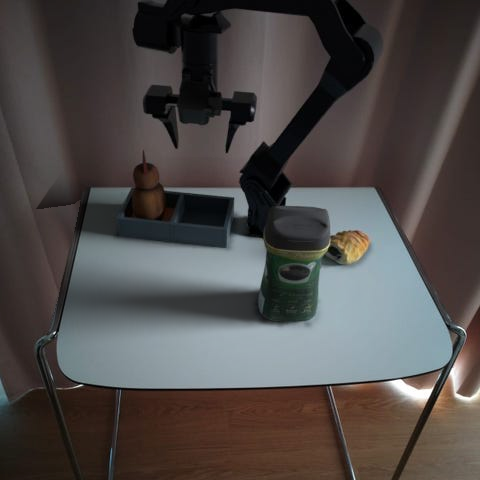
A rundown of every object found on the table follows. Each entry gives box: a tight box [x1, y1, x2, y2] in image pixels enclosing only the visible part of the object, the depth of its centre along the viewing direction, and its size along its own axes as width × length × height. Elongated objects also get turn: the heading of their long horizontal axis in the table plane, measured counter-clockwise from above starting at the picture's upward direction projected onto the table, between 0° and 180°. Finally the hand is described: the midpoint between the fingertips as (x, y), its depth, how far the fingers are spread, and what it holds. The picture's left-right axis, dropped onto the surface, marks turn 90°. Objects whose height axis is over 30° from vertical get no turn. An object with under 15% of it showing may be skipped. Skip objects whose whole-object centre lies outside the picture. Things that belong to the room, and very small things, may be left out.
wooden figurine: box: [132, 149, 166, 221], centre depth 90 cm, size 7×6×15 cm
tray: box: [115, 186, 235, 248], centre depth 94 cm, size 20×11×4 cm, turn 83°
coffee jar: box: [257, 205, 331, 323], centre depth 75 cm, size 10×8×19 cm
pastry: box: [323, 229, 371, 265], centre depth 91 cm, size 9×7×4 cm
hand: (201, 150), depth 90 cm, fingers open, 9 cm apart
